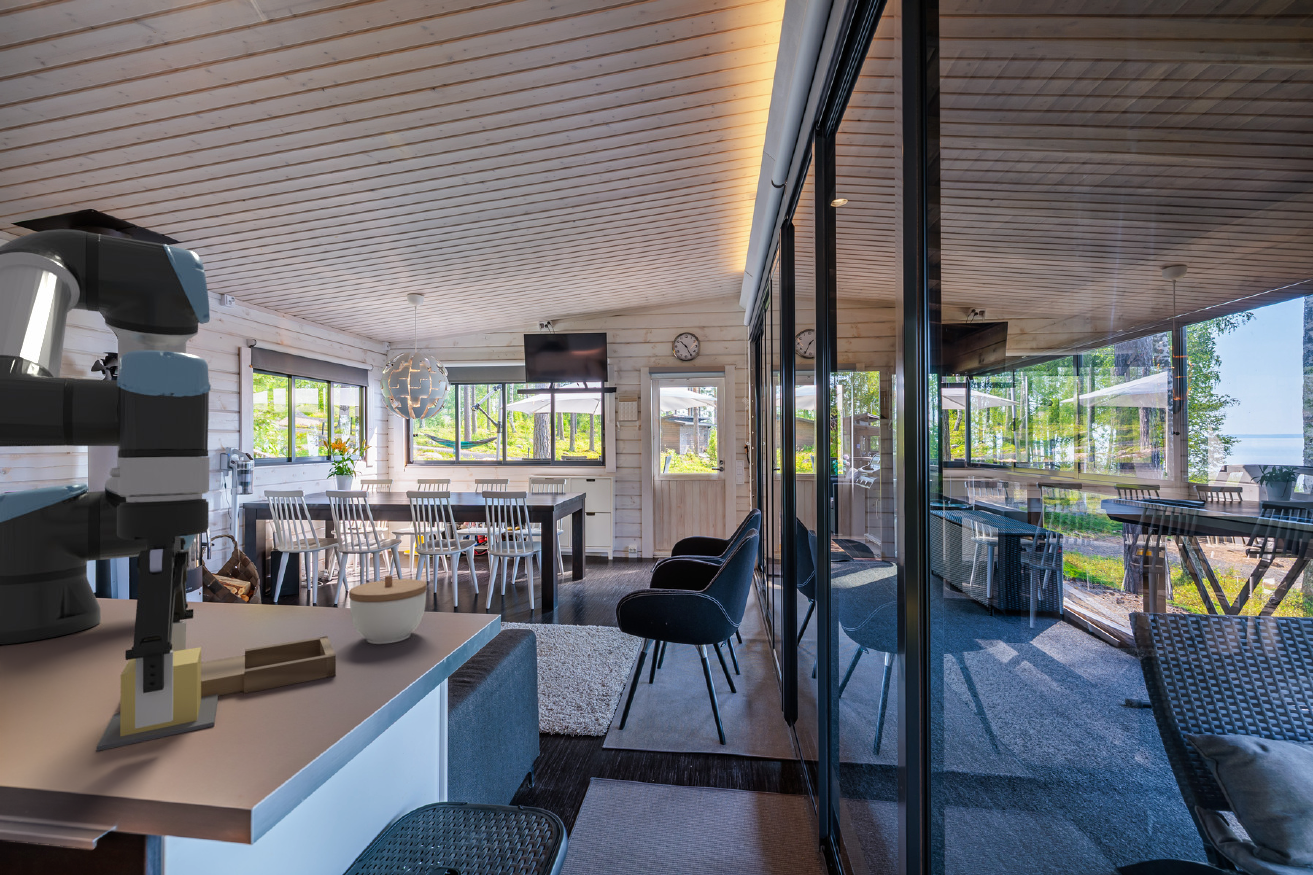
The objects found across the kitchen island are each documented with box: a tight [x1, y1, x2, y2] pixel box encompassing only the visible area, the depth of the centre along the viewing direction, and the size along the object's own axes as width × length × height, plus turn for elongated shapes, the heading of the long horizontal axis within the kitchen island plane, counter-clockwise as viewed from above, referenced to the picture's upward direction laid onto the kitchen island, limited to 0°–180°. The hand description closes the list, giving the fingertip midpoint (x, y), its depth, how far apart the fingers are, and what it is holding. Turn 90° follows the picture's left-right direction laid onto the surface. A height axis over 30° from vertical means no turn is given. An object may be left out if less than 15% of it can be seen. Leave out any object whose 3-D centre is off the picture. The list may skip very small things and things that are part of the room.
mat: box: [95, 694, 219, 752], centre depth 63 cm, size 9×9×1 cm
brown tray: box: [201, 635, 337, 697], centre depth 74 cm, size 10×20×2 cm, turn 124°
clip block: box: [120, 646, 202, 736], centre depth 63 cm, size 6×6×6 cm
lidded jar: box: [348, 574, 427, 645], centre depth 91 cm, size 11×11×9 cm
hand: (163, 702), depth 63 cm, fingers open, 13 cm apart
